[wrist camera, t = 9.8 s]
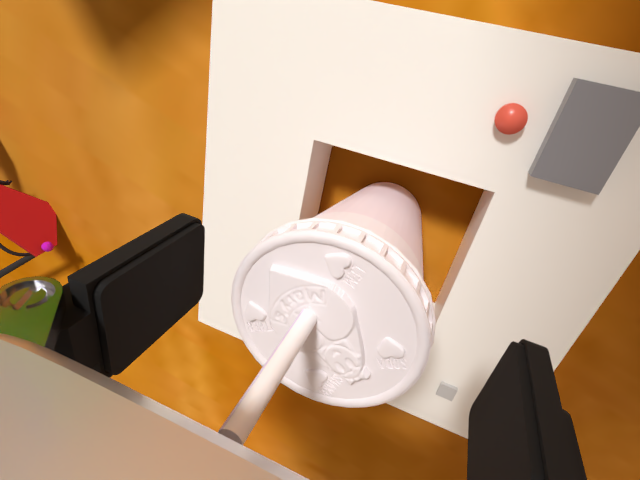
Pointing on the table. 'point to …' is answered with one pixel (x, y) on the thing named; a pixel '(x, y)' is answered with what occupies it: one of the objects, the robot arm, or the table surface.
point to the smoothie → (336, 306)
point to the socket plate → (432, 163)
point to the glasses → (26, 224)
